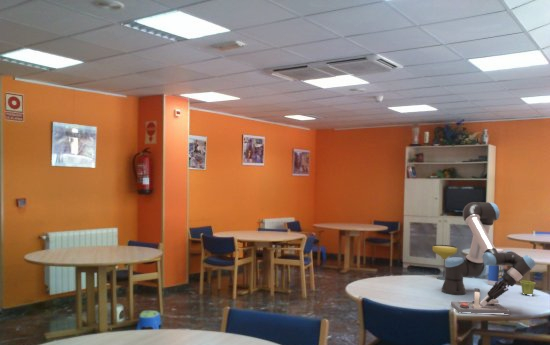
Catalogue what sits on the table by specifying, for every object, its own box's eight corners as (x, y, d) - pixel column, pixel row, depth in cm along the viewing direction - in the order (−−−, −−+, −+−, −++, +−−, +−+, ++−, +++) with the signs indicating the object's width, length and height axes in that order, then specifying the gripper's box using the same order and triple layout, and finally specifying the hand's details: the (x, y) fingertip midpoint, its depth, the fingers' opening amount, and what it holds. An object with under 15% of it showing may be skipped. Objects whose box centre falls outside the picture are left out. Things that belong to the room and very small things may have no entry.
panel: (459, 313, 273) (459, 304, 273) (451, 305, 289) (451, 297, 289) (509, 315, 271) (509, 307, 271) (498, 307, 287) (498, 300, 287)
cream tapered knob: (474, 308, 274) (474, 292, 274) (472, 306, 277) (472, 291, 277) (481, 308, 274) (481, 293, 274) (479, 306, 277) (479, 291, 277)
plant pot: (530, 293, 327) (530, 280, 327) (538, 296, 318) (538, 284, 318) (517, 293, 327) (517, 280, 327) (524, 296, 317) (525, 283, 317)
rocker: (488, 304, 282) (487, 301, 282) (485, 302, 286) (485, 299, 286) (498, 302, 281) (498, 299, 281) (496, 301, 285) (495, 297, 285)
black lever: (474, 304, 283) (474, 289, 283) (472, 302, 286) (472, 288, 286) (481, 304, 283) (481, 289, 283) (479, 303, 286) (479, 288, 286)
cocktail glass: (460, 279, 367) (461, 247, 367) (449, 282, 354) (450, 249, 354) (438, 275, 380) (439, 244, 380) (427, 278, 367) (428, 245, 368)
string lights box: (498, 286, 346) (499, 251, 346) (487, 284, 351) (488, 249, 351) (503, 283, 356) (504, 249, 356) (492, 282, 361) (493, 248, 361)
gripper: (521, 284, 267) (490, 312, 269) (511, 279, 280) (482, 306, 281) (511, 274, 268) (480, 303, 269) (502, 270, 281) (473, 297, 282)
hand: (481, 304), depth 275 cm, fingers closed
